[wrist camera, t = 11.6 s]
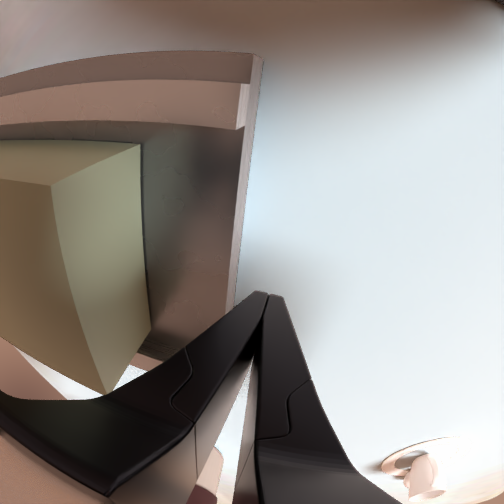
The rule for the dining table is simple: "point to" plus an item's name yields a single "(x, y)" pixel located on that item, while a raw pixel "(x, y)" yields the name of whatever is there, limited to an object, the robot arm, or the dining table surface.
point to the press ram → (73, 256)
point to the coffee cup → (208, 480)
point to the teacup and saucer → (426, 468)
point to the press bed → (161, 165)
